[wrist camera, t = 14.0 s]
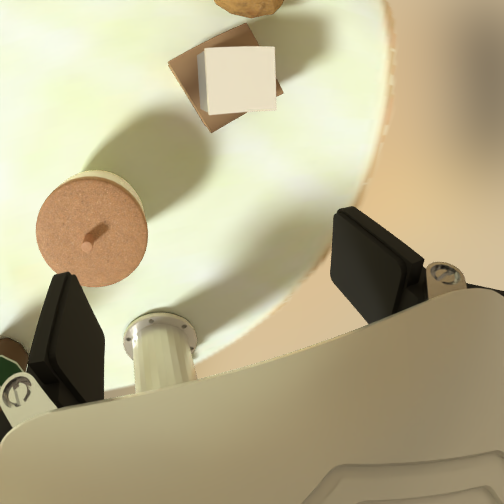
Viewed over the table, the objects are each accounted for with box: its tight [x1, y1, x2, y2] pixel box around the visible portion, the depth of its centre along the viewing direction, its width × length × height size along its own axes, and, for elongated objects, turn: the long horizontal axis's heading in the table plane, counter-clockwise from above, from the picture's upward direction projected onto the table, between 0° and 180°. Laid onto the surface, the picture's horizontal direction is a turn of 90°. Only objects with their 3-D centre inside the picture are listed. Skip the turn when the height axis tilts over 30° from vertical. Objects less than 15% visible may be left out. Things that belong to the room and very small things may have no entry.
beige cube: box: [197, 46, 276, 115], centre depth 27 cm, size 6×6×6 cm
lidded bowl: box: [36, 170, 148, 287], centre depth 33 cm, size 13×13×11 cm
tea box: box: [168, 23, 284, 133], centre depth 32 cm, size 9×9×5 cm
